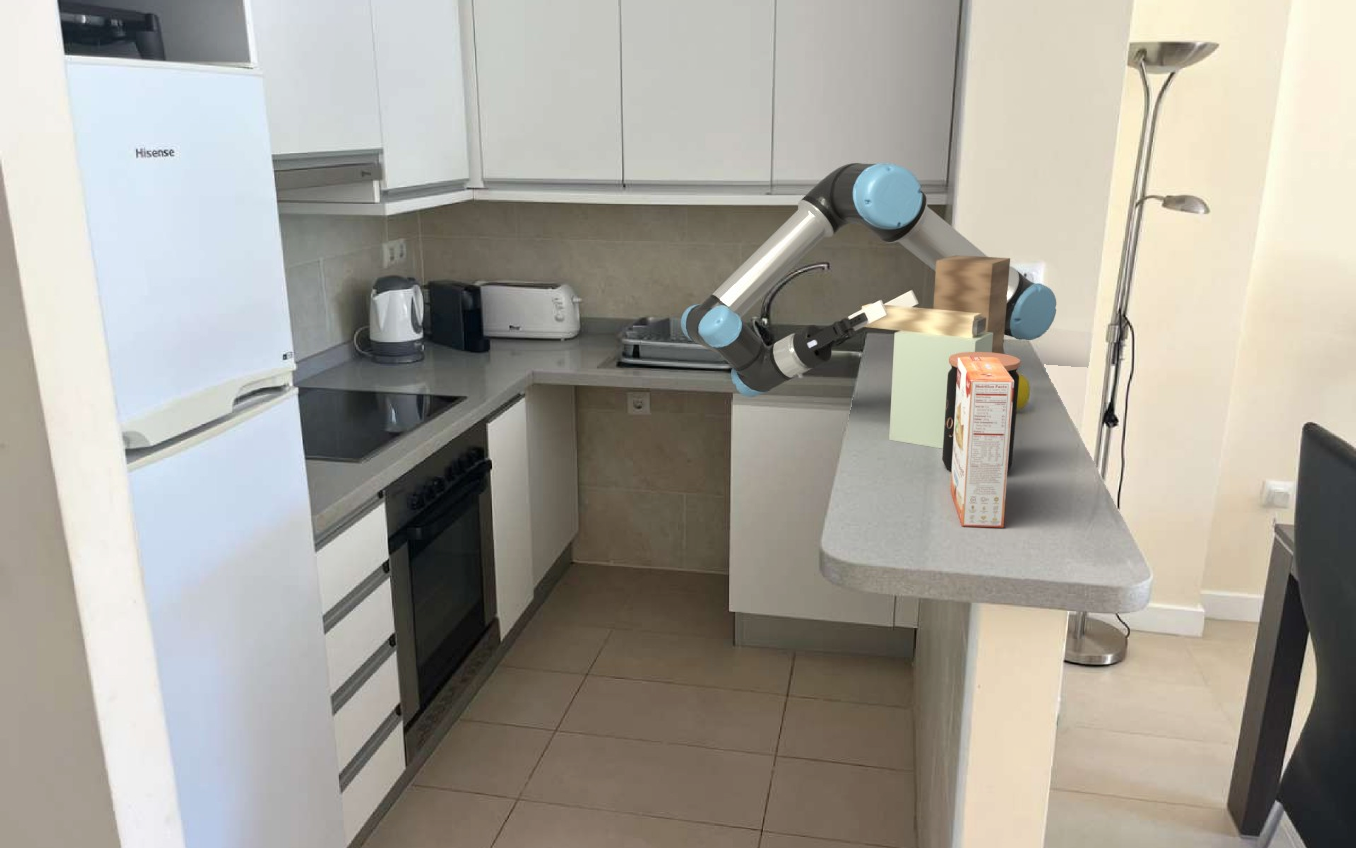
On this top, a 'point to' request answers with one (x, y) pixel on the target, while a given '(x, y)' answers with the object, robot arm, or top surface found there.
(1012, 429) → the coffee jar
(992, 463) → the cracker box
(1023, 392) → the lemon
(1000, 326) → the stand
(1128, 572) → the top surface
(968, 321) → the light wooden bar
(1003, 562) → the top surface
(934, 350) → the pale green rectangular prism
